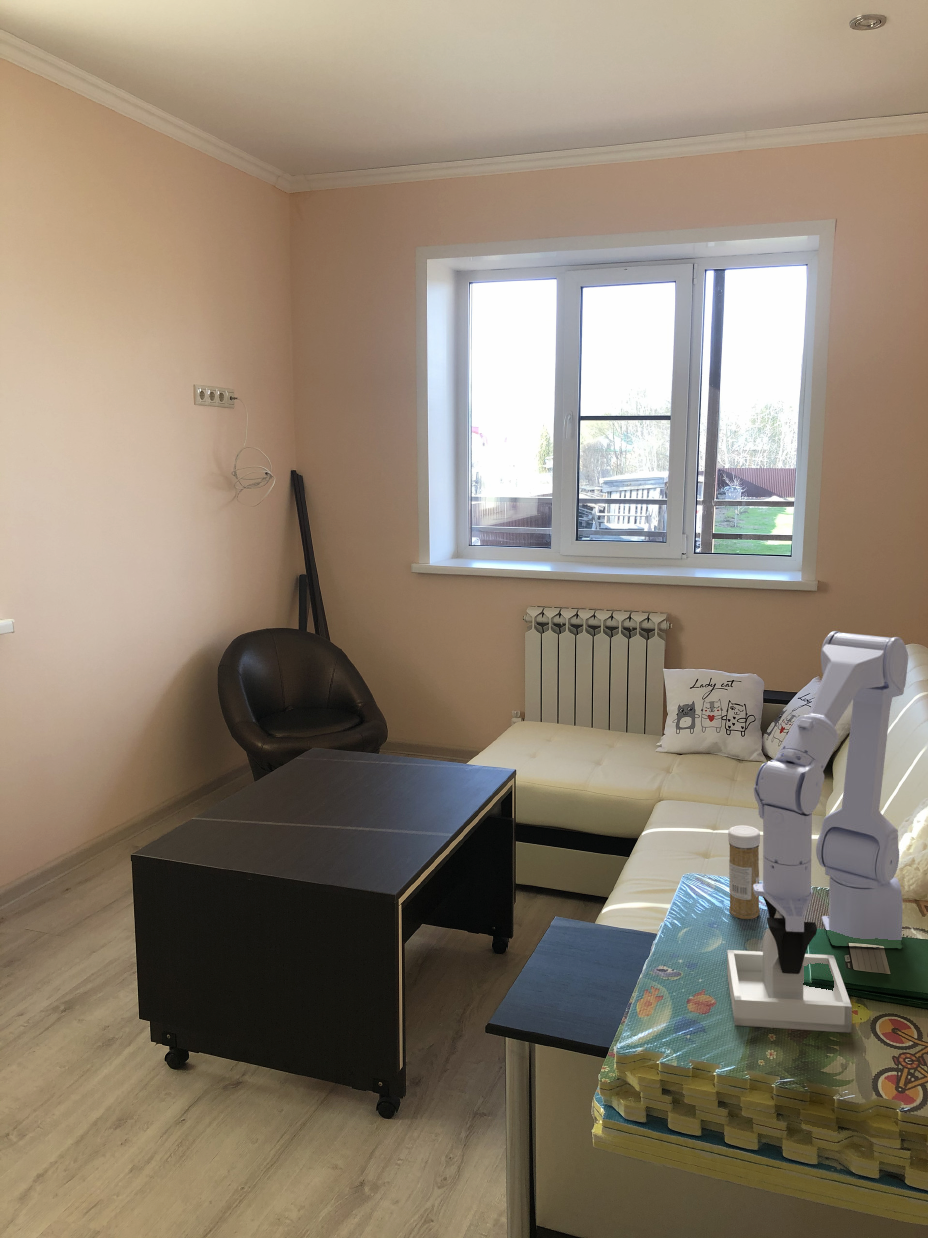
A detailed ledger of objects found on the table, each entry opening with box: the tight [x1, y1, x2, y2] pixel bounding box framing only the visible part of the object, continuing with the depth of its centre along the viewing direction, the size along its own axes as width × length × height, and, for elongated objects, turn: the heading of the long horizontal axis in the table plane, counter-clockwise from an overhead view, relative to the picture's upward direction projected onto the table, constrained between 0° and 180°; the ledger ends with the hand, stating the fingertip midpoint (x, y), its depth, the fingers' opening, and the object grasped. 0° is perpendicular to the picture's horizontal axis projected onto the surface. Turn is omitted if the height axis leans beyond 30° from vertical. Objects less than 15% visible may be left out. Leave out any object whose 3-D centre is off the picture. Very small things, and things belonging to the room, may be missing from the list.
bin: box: [726, 949, 853, 1034], centre depth 121 cm, size 14×12×4 cm
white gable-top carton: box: [762, 910, 804, 1000], centre depth 120 cm, size 4×7×10 cm, turn 173°
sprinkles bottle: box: [727, 824, 761, 920], centre depth 143 cm, size 5×5×14 cm
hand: (786, 955), depth 120 cm, fingers open, 7 cm apart
